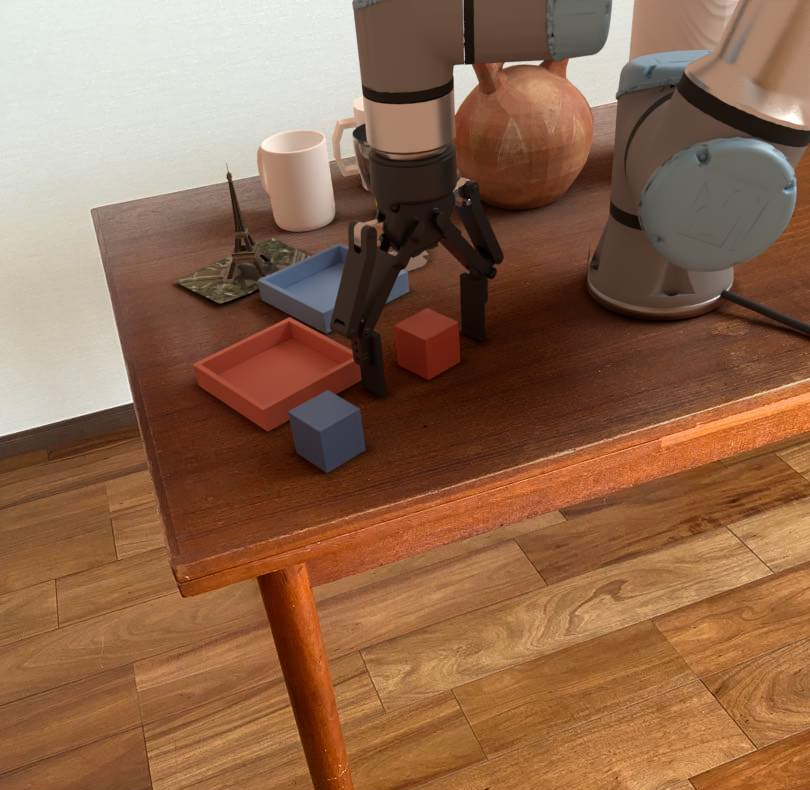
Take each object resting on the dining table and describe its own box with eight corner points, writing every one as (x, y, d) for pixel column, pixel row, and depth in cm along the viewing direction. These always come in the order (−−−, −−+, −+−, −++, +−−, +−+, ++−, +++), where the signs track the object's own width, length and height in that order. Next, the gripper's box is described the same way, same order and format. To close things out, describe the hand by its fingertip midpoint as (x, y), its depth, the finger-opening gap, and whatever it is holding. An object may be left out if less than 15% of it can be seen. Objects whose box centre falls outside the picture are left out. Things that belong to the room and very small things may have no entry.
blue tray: (409, 291, 101) (407, 271, 99) (326, 334, 95) (323, 313, 94) (342, 262, 108) (339, 242, 106) (261, 300, 103) (257, 280, 101)
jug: (551, 157, 128) (556, -2, 114) (616, 199, 115) (630, 26, 101) (433, 184, 124) (423, 23, 110) (486, 231, 111) (483, 55, 97)
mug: (346, 203, 121) (336, 122, 114) (333, 177, 129) (322, 99, 122) (441, 186, 123) (436, 104, 116) (422, 161, 130) (417, 83, 123)
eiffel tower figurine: (273, 241, 114) (252, 133, 105) (322, 262, 108) (305, 150, 99) (175, 284, 107) (144, 173, 98) (222, 309, 102) (193, 194, 93)
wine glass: (442, 248, 108) (435, 120, 98) (416, 278, 103) (405, 145, 93) (384, 241, 111) (371, 116, 101) (355, 269, 106) (339, 140, 96)
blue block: (365, 450, 79) (360, 408, 76) (327, 473, 77) (319, 431, 74) (334, 430, 82) (327, 389, 79) (296, 452, 80) (287, 411, 77)
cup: (304, 237, 114) (291, 157, 107) (244, 218, 121) (228, 141, 114) (349, 214, 118) (338, 136, 112) (288, 197, 125) (275, 121, 118)
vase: (739, 176, 117) (789, -119, 95) (629, 185, 118) (655, -105, 96) (713, 139, 127) (753, -134, 106) (612, 147, 128) (632, -122, 107)
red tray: (366, 377, 88) (363, 355, 87) (267, 432, 83) (262, 410, 81) (293, 337, 95) (289, 316, 94) (198, 385, 90) (192, 364, 88)
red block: (460, 361, 89) (458, 321, 86) (428, 380, 87) (425, 340, 84) (430, 347, 92) (427, 307, 89) (397, 364, 90) (393, 325, 87)
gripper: (482, 97, 83) (485, 304, 97) (266, 179, 71) (304, 400, 86) (543, 112, 78) (536, 326, 93) (323, 202, 67) (354, 430, 81)
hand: (425, 362), depth 89 cm, fingers open, 13 cm apart
